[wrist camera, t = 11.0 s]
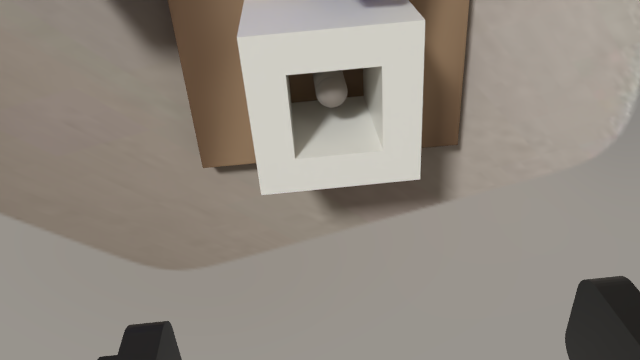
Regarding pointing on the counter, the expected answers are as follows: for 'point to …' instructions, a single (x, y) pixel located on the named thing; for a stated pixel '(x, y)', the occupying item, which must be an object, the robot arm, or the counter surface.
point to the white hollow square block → (355, 112)
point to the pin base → (303, 76)
